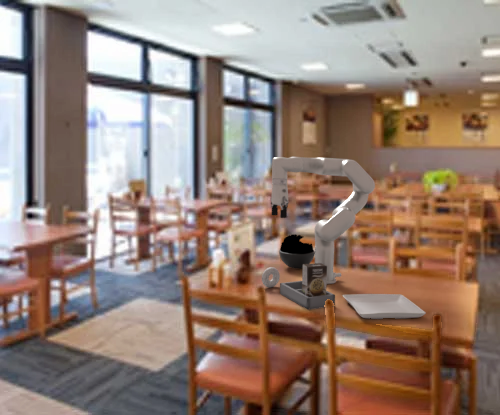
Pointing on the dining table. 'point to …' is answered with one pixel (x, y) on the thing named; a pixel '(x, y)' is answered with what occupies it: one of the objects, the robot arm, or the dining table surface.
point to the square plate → (384, 306)
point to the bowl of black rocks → (296, 252)
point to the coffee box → (314, 279)
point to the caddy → (304, 296)
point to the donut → (267, 273)
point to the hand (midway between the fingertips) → (278, 216)
